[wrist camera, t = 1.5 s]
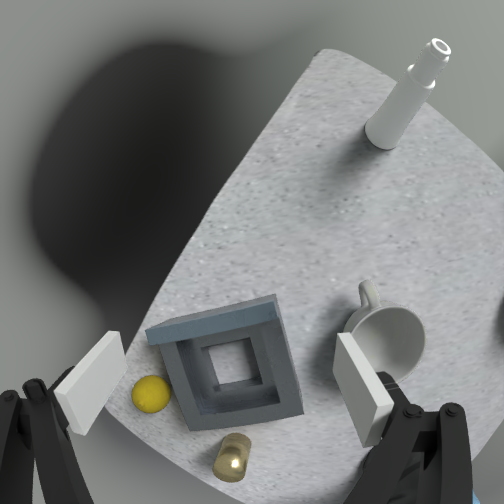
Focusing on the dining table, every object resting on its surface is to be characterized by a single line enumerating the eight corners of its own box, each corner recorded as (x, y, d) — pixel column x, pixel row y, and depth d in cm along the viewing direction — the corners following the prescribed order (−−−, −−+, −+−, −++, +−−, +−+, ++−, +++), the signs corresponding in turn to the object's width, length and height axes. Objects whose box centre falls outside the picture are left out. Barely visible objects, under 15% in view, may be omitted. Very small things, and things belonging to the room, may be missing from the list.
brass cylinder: (254, 451, 38) (248, 481, 30) (227, 454, 39) (218, 483, 31) (247, 431, 39) (239, 459, 31) (219, 434, 39) (208, 462, 31)
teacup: (405, 358, 37) (427, 376, 29) (338, 375, 38) (349, 398, 30) (397, 269, 38) (421, 269, 30) (327, 283, 39) (338, 287, 31)
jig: (301, 395, 38) (305, 423, 30) (200, 412, 40) (184, 439, 31) (275, 293, 39) (273, 301, 31) (170, 318, 41) (144, 330, 32)
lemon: (140, 381, 41) (116, 400, 33) (159, 362, 41) (135, 379, 33) (164, 405, 40) (144, 427, 32) (184, 387, 40) (165, 409, 32)
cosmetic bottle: (390, 157, 38) (461, 79, 16) (358, 134, 39) (407, 41, 17) (404, 131, 38) (470, 51, 16) (374, 110, 39) (422, 18, 17)
